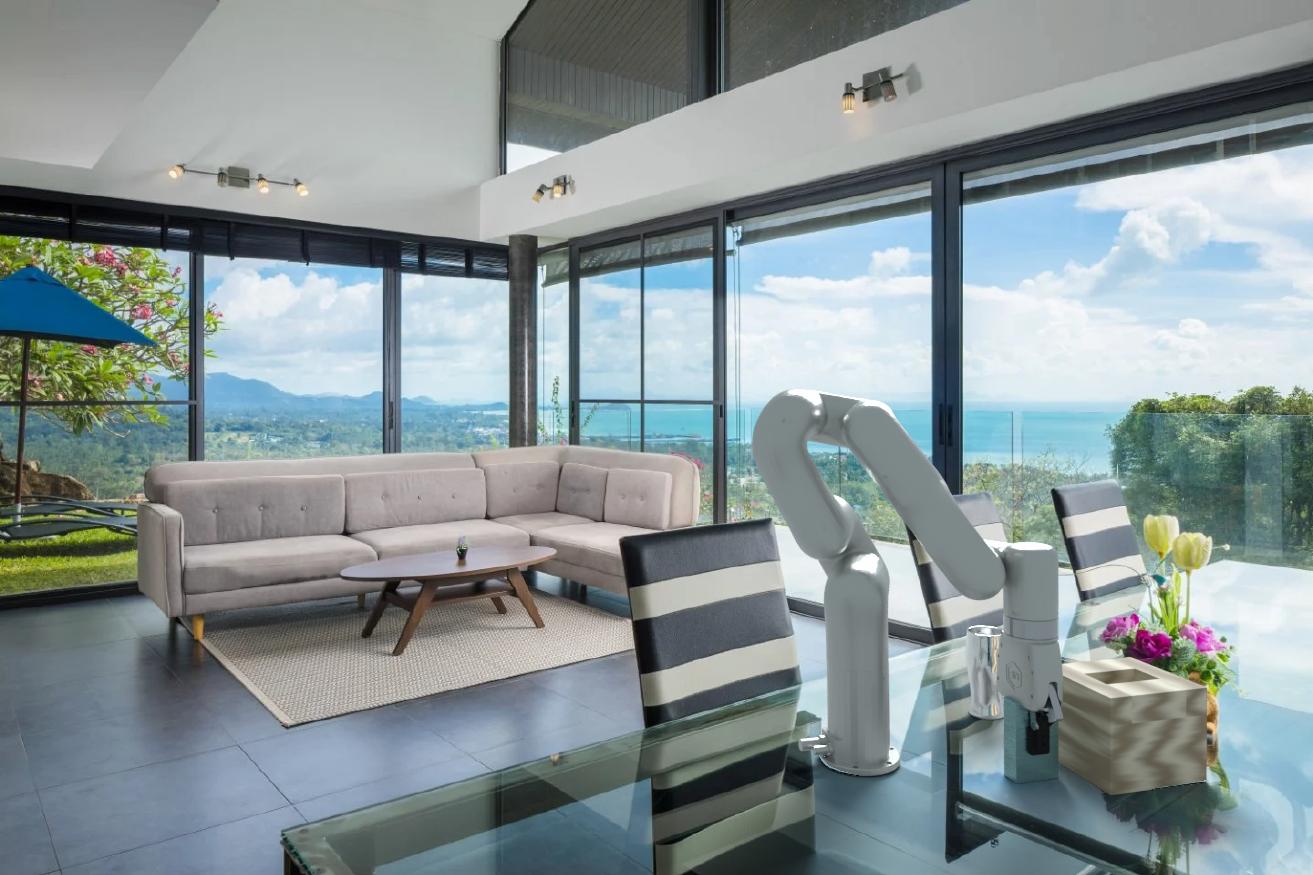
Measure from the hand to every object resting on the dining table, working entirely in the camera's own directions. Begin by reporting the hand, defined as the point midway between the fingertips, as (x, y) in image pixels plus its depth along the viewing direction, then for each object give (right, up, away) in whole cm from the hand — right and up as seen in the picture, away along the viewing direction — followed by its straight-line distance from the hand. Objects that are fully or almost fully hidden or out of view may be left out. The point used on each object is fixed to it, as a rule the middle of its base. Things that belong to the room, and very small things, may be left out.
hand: (1030, 747), depth 129 cm
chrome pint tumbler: (+3, -3, +25) cm, 26 cm away
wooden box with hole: (+15, -4, +3) cm, 16 cm away
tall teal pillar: (0, -4, 0) cm, 4 cm away
